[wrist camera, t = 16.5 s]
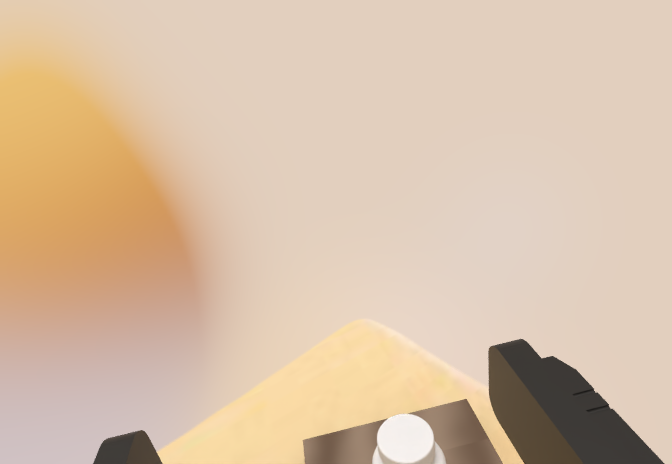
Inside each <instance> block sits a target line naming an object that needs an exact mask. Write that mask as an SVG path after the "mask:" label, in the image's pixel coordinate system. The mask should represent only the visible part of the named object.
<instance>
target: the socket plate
mask: <svg viewBox="0 0 672 464" xmlns="http://www.w3.org/2000/svg"><path fill="white" fill-rule="evenodd" d="M409 414H412V415H415V416H418V417H420V418H422V419H423V420H425V421H426V422H427V423H428V424H429V426H430V427H431V429H432V431H433V434H434V440H435V442H436V443H437V444H438V445H439V447H440V448H441V450H442V452H443V454H444V456H445V460H446V464H503V463H502V461H501V460H500V458H499V456H498V454H497V452H496V451H495V449H494V447H493V445H492V444H491V442H490V440H489V438H488V436H487V435H486V433H485V431H484V429H483V428H482V426H481V424H480V422H479V420H478V419H477V417H476V415H475V413H474V411H473V410H472V408H471V406H470V404H469V403H468V401H467V399H464V400H460V401H456V402H452V403H448V404H444V405H440V406H436V407H432V408H428V409H425V410H421V411H417V412H413V413H409ZM386 420H387V419H385V420H381V421H377V422H373V423H369V424H365V425H361V426H357V427H353V428H349V429H345V430H341V431H337V432H333V433H329V434H325V435H321V436H317V437H313V438H309V439H305V440H303V445H304V455H305V464H372V459H373V454H374V451H375V449H376V447H377V434H378V430H379V428H380V426H381V425H382V424H383V423H384V422H385V421H386Z"/></svg>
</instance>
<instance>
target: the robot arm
mask: <svg viewBox="0 0 672 464" xmlns="http://www.w3.org/2000/svg"><path fill="white" fill-rule="evenodd" d="M489 396H490V401H491V405H492V408H493V411H494V413H495V415H496V417H497V419H498V421H499V423H500V424H501V426H502V428H503V429H504V431H505V433H506V434H507V436H508V438H509V439H510V441H511V442H512V444H513V446H514V447H515V449H516V451H517V452H518V454H519V455H520V457H521V459H522V460H523V462H524V464H664V463H663V462H662V461H661V460H660V459H659V457H658V456H657V455H656V454H655V453H654V452H653V451H652V450H651V449H650V448H649V447H648V446H647V445H646V444H645V443H644V442H643V440H642V439H641V438H640V437H639V436H638V435H637V434H636V433H635V432H634V431H633V430H632V429H631V428H630V427H629V426H628V425H627V423H626V422H625V421H624V420H623V419H622V418H621V417H620V416H619V415H618V414H617V413H616V412H615V411H614V410H613V409H610V407H609V404H608V403H607V402H606V401H605V400H604V399H603V398H602V397H601V396H600V395H599V394H598V393H595V391H594V388H593V387H592V386H591V385H590V384H589V383H588V382H587V381H586V380H585V379H584V378H583V377H582V376H581V374H580V373H579V372H578V371H577V370H576V369H574V368H572V367H570V366H569V365H567V364H565V363H564V362H562V361H560V360H558V359H557V358H555V357H553V356H551V357H546V358H542V359H541V357H540V356H539V355H538V354H537V353H536V352H535V351H534V349H533V348H532V347H531V346H530V345H529V344H528V343H527V342H526V341H525V340H523V339H519V340H515V341H511V342H507V343H503V344H499V345H495V346H491V347H490V348H489ZM93 464H162V462H161V460H160V458H159V456H158V454H157V452H156V450H155V448H154V447H153V445H152V443H151V441H150V439H149V437H148V435H147V434H146V433H145V432H144V431H142V430H141V431H137V432H132V433H128V434H124V435H120V436H116V437H112V438H108V439H106V440H104V441H103V443H102V444H101V446H100V448H99V451H98V453H97V456H96V458H95V461H94V463H93Z"/></svg>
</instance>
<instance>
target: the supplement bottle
mask: <svg viewBox="0 0 672 464" xmlns="http://www.w3.org/2000/svg"><path fill="white" fill-rule="evenodd" d="M372 464H446V460H445V456H444V454H443V452H442V450H441V448H440V447H439V445H438V444H437V443H436V442H435V440H434V434H433V431H432V429H431V427H430V426H429V424H428V423H427V422H426V421H425V420H423V419H422V418H420V417H418V416H415V415H412V414H398V415H395V416H392V417H390V418H389V419H387V420H386V421H385V422H384V423H383V424H382V425H381V426H380V428H379V430H378V434H377V447H376V449H375V451H374V454H373V459H372Z"/></svg>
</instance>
